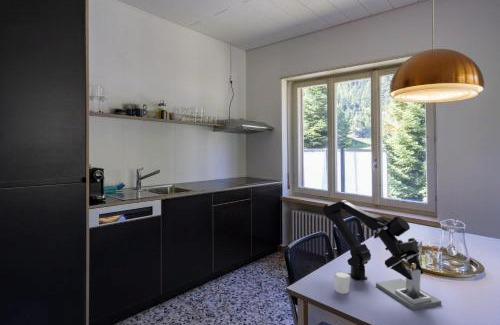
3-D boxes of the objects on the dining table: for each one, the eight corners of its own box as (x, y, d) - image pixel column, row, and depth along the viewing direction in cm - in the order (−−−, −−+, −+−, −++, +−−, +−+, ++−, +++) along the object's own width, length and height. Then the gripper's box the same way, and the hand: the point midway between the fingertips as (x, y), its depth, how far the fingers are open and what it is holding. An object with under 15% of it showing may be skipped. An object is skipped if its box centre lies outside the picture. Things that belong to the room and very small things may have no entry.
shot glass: (346, 286, 127) (347, 271, 127) (352, 294, 120) (353, 278, 120) (331, 286, 127) (331, 271, 126) (336, 294, 120) (337, 278, 120)
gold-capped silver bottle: (404, 296, 115) (405, 264, 115) (406, 291, 119) (407, 260, 119) (418, 300, 112) (419, 267, 112) (420, 295, 116) (421, 263, 116)
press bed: (375, 285, 127) (376, 280, 127) (400, 281, 132) (401, 276, 131) (413, 310, 108) (413, 303, 108) (441, 304, 112) (441, 298, 112)
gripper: (393, 236, 112) (421, 273, 104) (415, 228, 123) (443, 262, 115) (373, 249, 119) (399, 286, 111) (397, 241, 130) (422, 274, 121)
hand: (417, 276), depth 114 cm, fingers open, 9 cm apart
